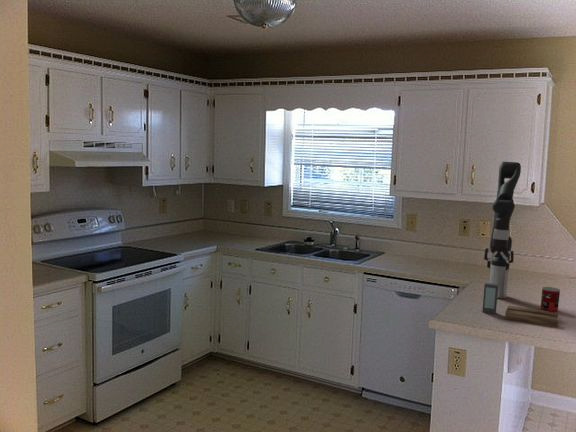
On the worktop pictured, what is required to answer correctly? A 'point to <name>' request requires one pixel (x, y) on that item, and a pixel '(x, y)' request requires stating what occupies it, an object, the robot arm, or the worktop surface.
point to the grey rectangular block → (490, 298)
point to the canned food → (550, 299)
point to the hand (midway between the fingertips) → (497, 269)
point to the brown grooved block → (531, 316)
